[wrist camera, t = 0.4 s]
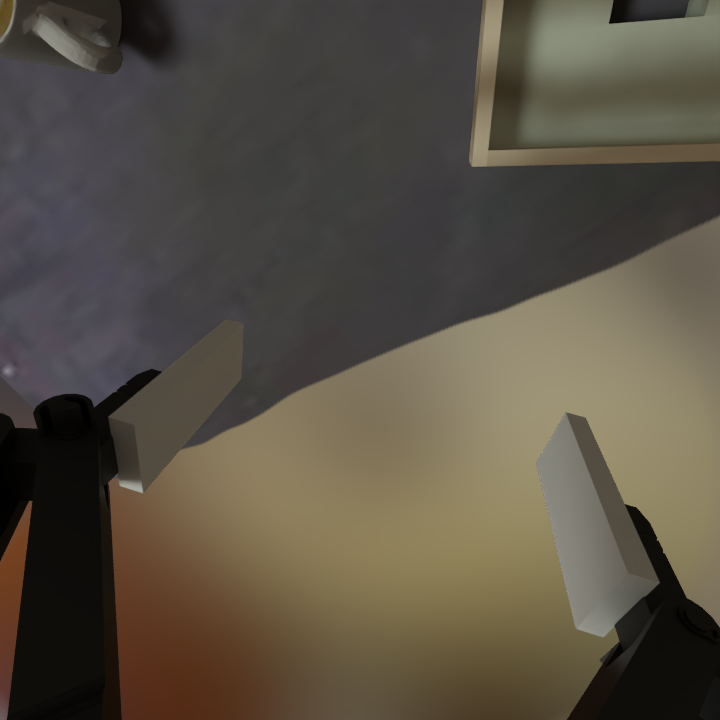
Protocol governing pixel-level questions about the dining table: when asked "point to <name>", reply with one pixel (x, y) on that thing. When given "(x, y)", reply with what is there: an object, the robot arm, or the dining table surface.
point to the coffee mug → (63, 33)
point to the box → (595, 85)
